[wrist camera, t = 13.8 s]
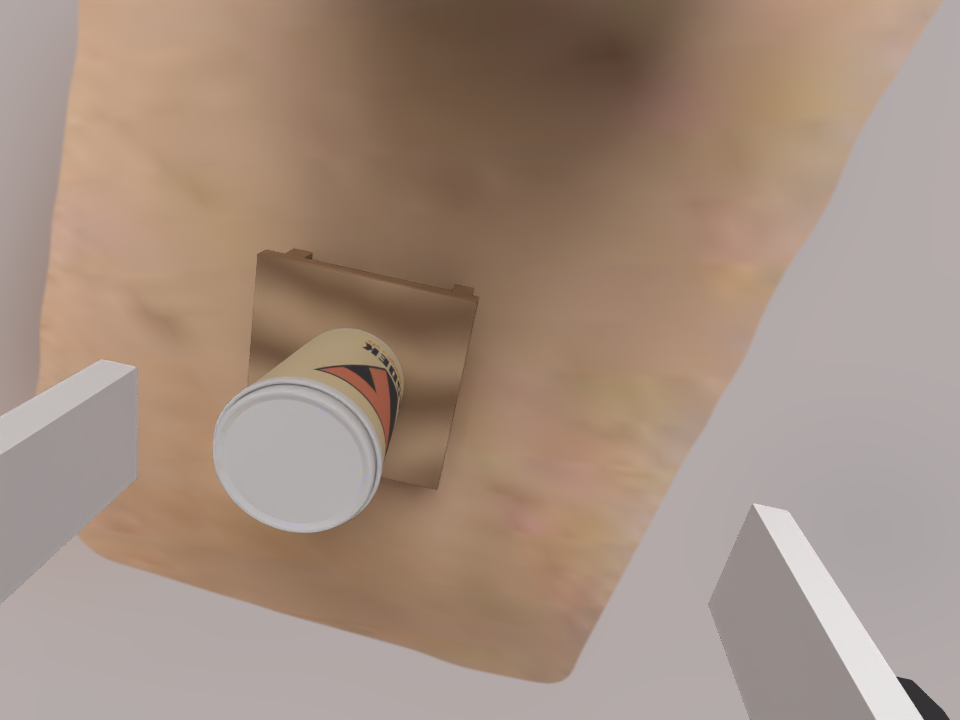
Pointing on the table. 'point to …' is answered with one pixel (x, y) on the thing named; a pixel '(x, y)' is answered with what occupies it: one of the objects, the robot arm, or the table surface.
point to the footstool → (390, 317)
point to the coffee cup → (311, 433)
